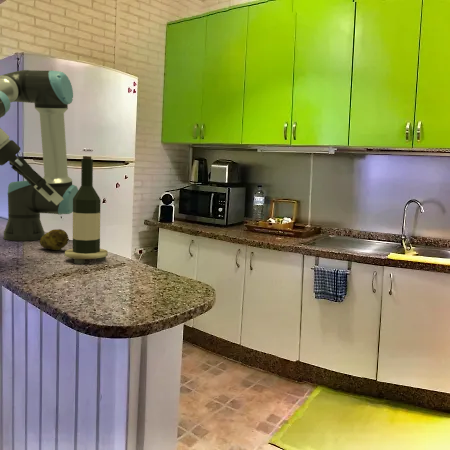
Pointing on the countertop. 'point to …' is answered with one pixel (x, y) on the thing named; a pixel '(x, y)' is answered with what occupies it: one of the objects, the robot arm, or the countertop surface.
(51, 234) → the potato
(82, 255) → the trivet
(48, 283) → the countertop surface
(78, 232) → the wine bottle
